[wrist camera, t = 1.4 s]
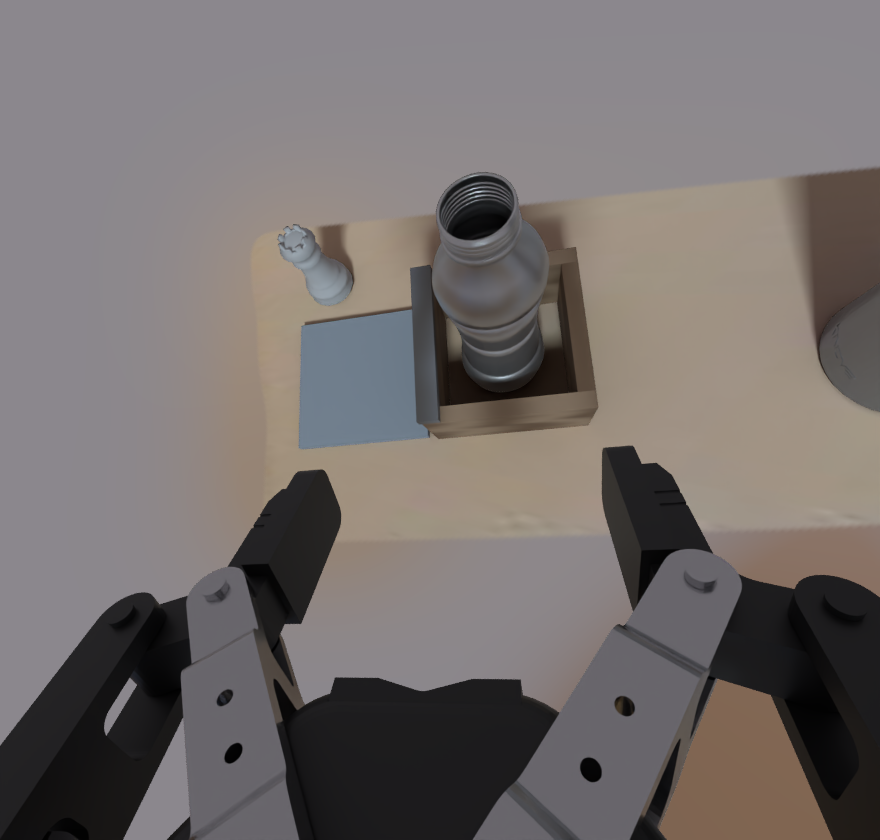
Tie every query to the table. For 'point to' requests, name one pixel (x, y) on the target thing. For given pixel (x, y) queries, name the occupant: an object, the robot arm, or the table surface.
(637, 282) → the table surface
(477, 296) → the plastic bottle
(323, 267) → the rook chess piece
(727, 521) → the table surface
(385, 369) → the mat
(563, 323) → the holder
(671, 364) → the table surface
